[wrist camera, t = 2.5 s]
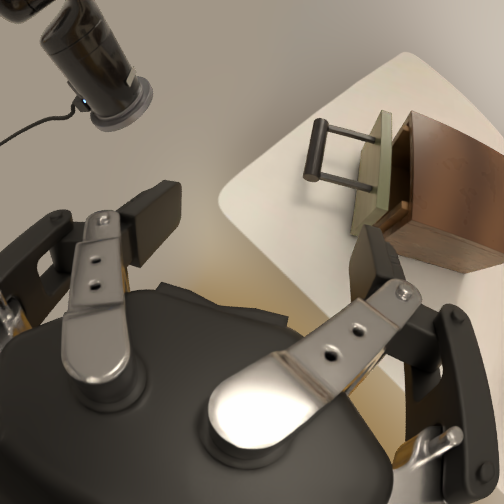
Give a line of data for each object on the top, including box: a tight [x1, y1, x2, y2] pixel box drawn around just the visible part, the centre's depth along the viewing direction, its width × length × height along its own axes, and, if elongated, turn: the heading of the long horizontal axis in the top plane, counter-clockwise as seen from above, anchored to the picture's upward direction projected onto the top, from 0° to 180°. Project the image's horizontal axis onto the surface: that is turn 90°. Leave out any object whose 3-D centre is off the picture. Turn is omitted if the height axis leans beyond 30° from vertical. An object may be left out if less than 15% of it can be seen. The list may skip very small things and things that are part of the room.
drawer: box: [303, 110, 410, 236], centre depth 28 cm, size 20×12×9 cm, turn 75°
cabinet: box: [383, 111, 504, 274], centre depth 27 cm, size 15×13×11 cm
